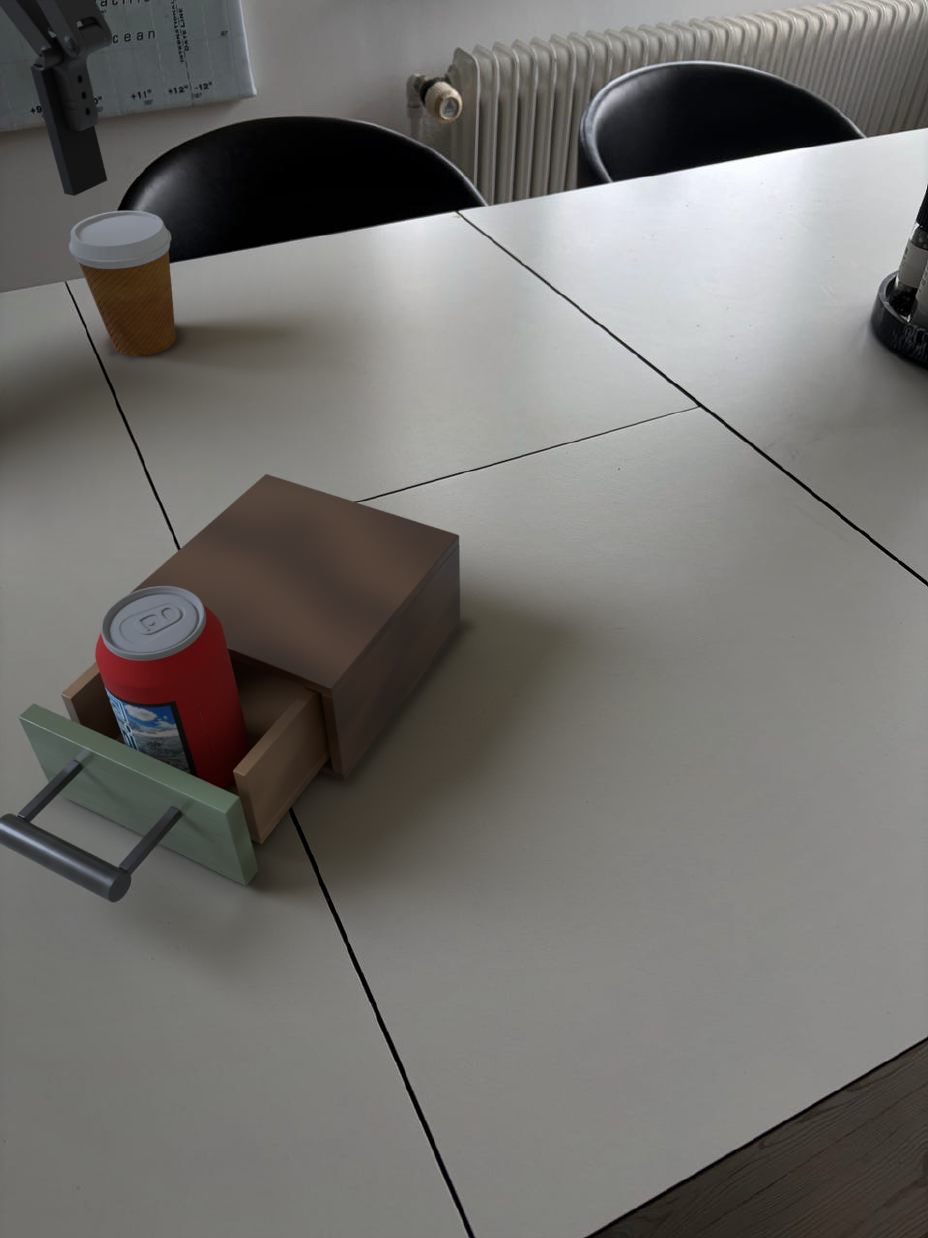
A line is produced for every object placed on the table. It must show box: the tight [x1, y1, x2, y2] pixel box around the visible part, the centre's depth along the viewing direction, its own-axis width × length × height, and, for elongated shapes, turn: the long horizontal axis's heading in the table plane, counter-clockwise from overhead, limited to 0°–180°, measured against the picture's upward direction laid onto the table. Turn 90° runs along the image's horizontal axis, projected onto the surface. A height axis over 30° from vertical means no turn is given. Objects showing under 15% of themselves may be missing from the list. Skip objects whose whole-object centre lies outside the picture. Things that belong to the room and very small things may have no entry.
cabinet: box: [129, 473, 461, 781], centre depth 67 cm, size 16×16×9 cm
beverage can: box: [94, 586, 250, 789], centre depth 57 cm, size 7×7×12 cm
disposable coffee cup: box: [68, 210, 177, 357], centre depth 100 cm, size 10×10×12 cm
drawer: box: [0, 657, 331, 903], centre depth 59 cm, size 20×14×7 cm
